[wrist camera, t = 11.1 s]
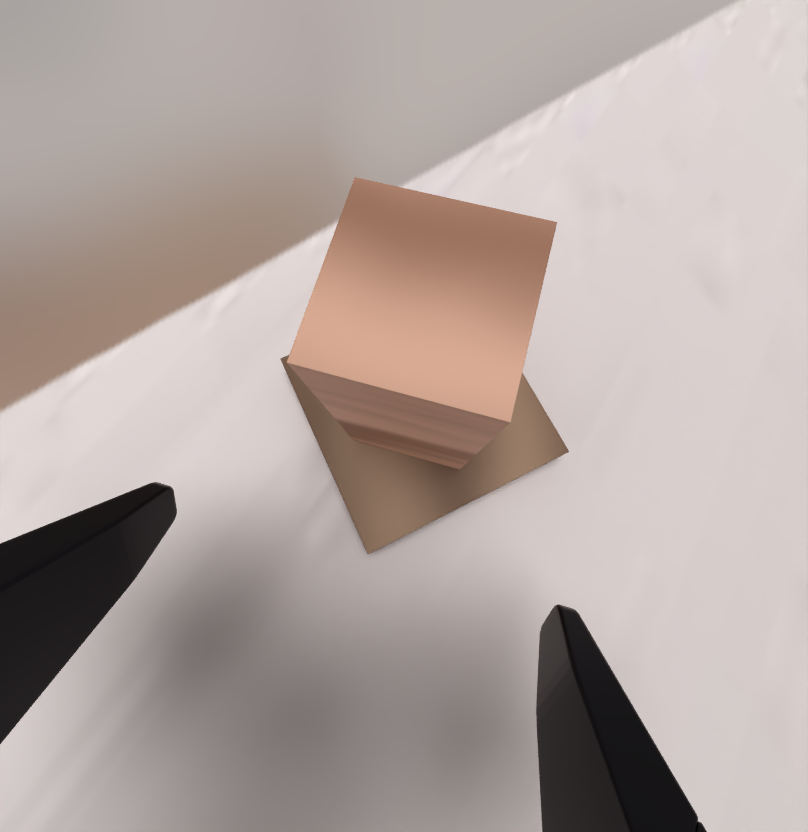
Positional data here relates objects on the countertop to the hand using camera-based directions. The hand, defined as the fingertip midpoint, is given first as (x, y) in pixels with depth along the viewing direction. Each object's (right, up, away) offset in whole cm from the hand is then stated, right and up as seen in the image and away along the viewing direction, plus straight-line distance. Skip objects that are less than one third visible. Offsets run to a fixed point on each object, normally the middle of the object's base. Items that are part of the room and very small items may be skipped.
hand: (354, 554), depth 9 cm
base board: (+2, +3, +11) cm, 12 cm away
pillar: (+2, +4, +10) cm, 11 cm away
